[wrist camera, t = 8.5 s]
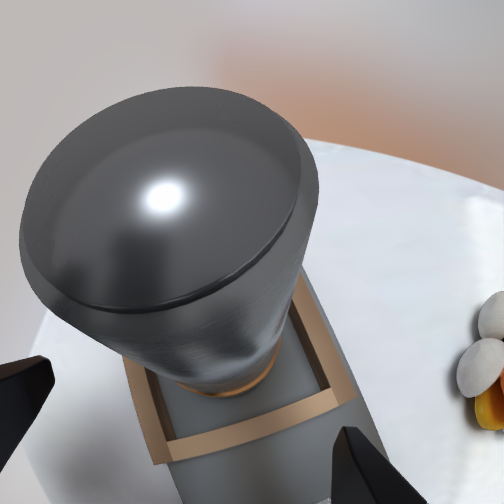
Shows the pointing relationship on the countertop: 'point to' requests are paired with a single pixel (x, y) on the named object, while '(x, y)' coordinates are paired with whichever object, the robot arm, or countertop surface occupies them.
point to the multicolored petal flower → (486, 366)
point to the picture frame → (259, 420)
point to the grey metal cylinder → (175, 233)
